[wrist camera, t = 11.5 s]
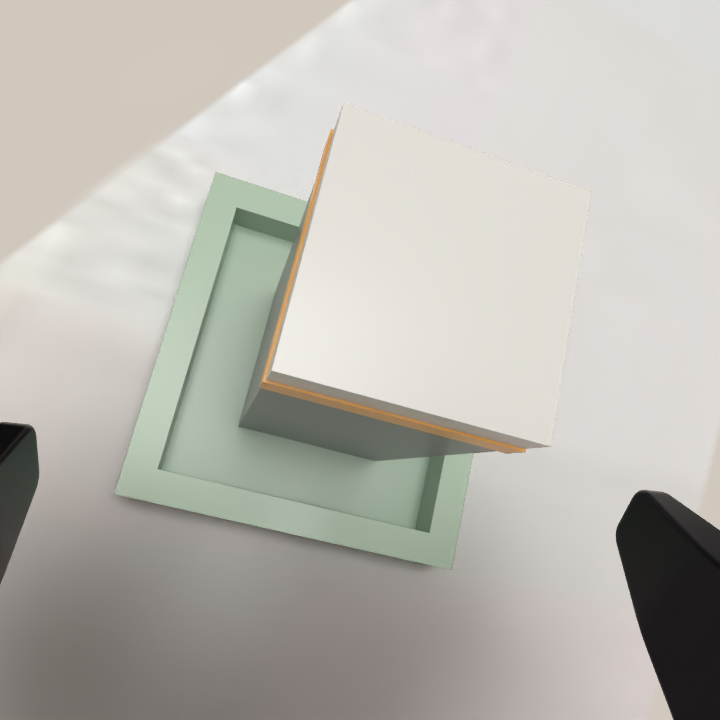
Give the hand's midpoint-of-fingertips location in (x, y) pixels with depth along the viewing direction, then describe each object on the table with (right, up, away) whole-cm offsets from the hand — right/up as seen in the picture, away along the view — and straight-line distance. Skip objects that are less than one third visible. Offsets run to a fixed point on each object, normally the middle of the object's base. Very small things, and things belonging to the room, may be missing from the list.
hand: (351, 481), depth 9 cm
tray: (-1, +1, +14) cm, 14 cm away
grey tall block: (-1, +1, +13) cm, 13 cm away
